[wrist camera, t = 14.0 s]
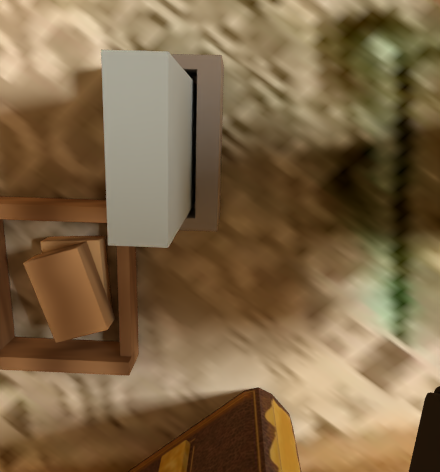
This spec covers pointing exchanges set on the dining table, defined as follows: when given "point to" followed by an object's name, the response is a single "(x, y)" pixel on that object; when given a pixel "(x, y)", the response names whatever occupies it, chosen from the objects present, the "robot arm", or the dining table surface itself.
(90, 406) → the dining table surface
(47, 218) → the square wooden tray
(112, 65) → the panel
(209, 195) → the holder
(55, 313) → the offcut top
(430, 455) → the robot arm
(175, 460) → the book
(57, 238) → the offcut low
